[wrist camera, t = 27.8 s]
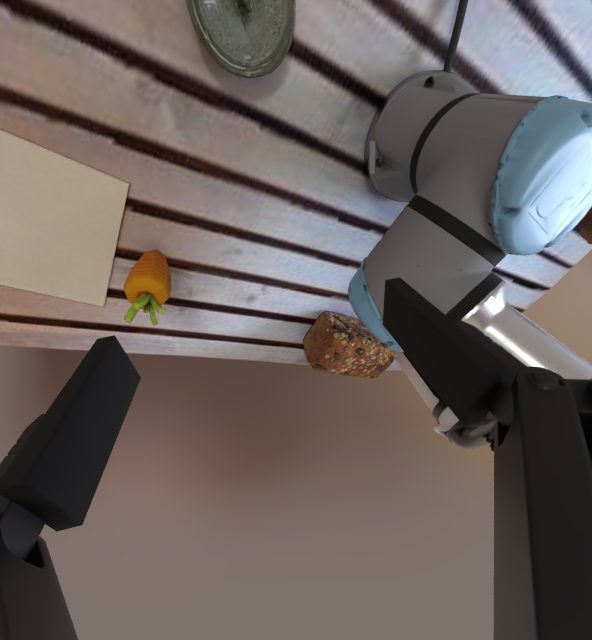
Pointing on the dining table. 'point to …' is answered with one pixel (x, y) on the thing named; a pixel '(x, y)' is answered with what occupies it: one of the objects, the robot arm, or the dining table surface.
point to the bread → (345, 347)
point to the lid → (245, 32)
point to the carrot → (148, 285)
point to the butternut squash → (586, 226)
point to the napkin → (56, 222)
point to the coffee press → (447, 412)
